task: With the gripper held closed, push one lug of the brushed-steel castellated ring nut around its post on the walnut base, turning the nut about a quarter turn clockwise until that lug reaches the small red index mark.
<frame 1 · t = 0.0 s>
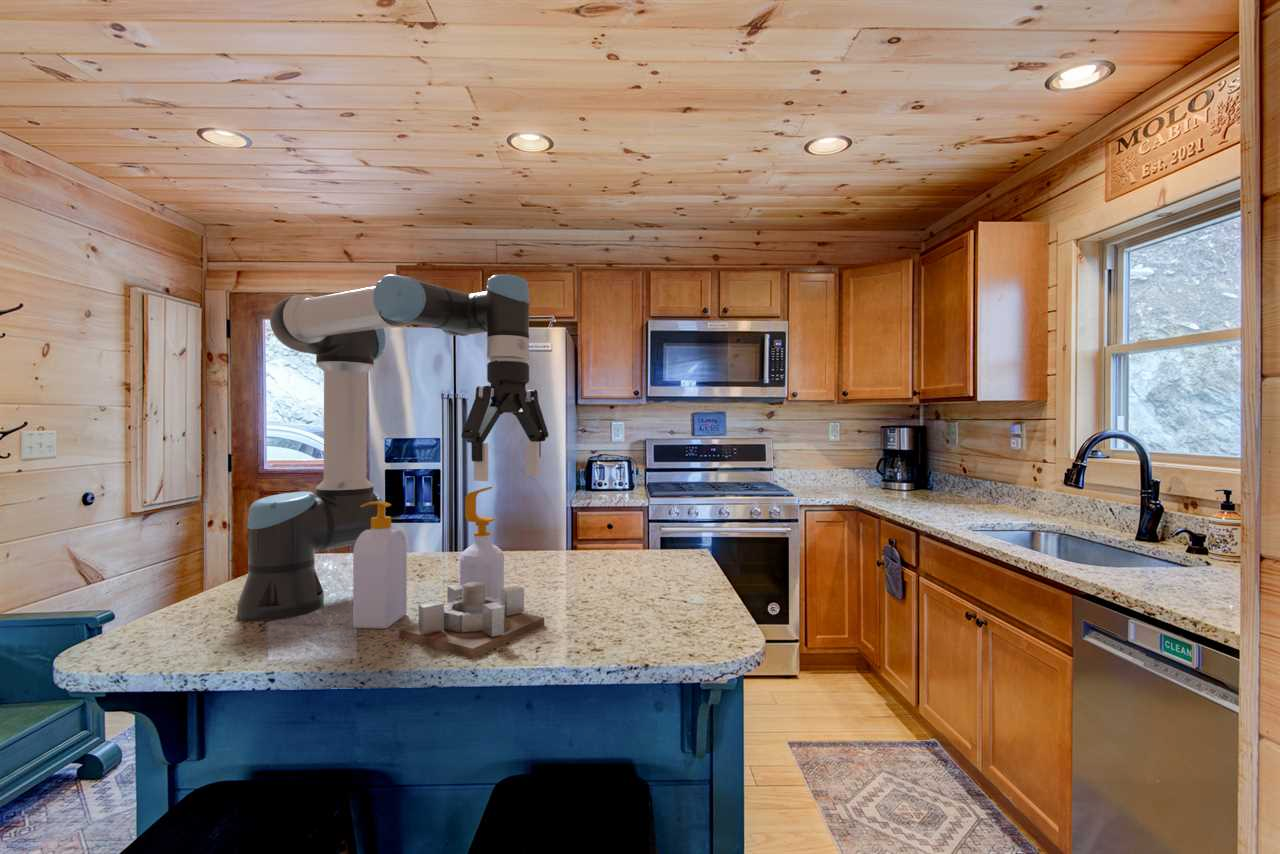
hand: (508, 478, 107), 28 cm above the countertop, fingers open, 13 cm apart
soap bottle: (482, 603, 125), on the countertop
ring nut: (473, 608, 106), point 4 cm above the countertop, hinge at 0.0°
soap bottle 2: (379, 622, 112), on the countertop
hub: (473, 631, 106), on the countertop
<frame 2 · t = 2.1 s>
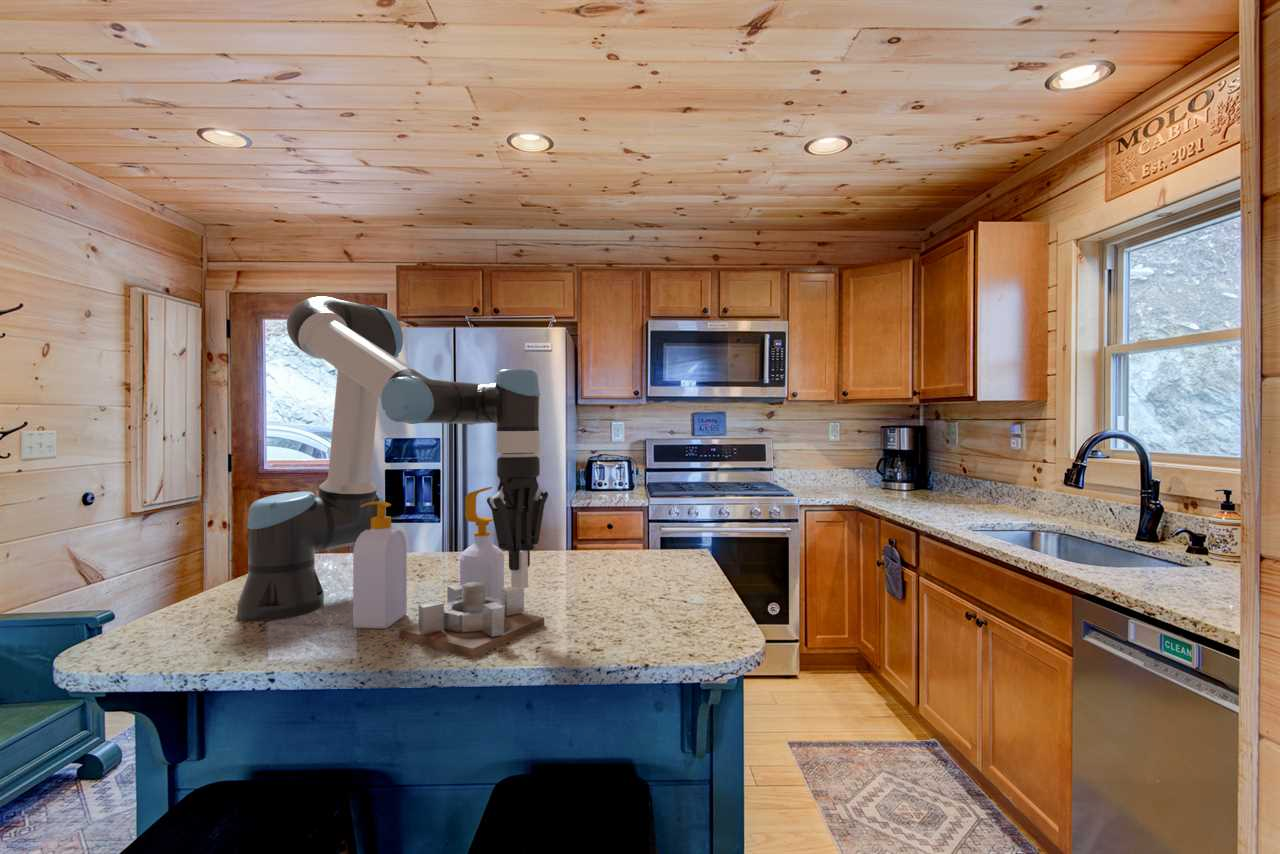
hand: (519, 586, 105), 9 cm above the countertop, fingers closed
nothing on the countertop moved.
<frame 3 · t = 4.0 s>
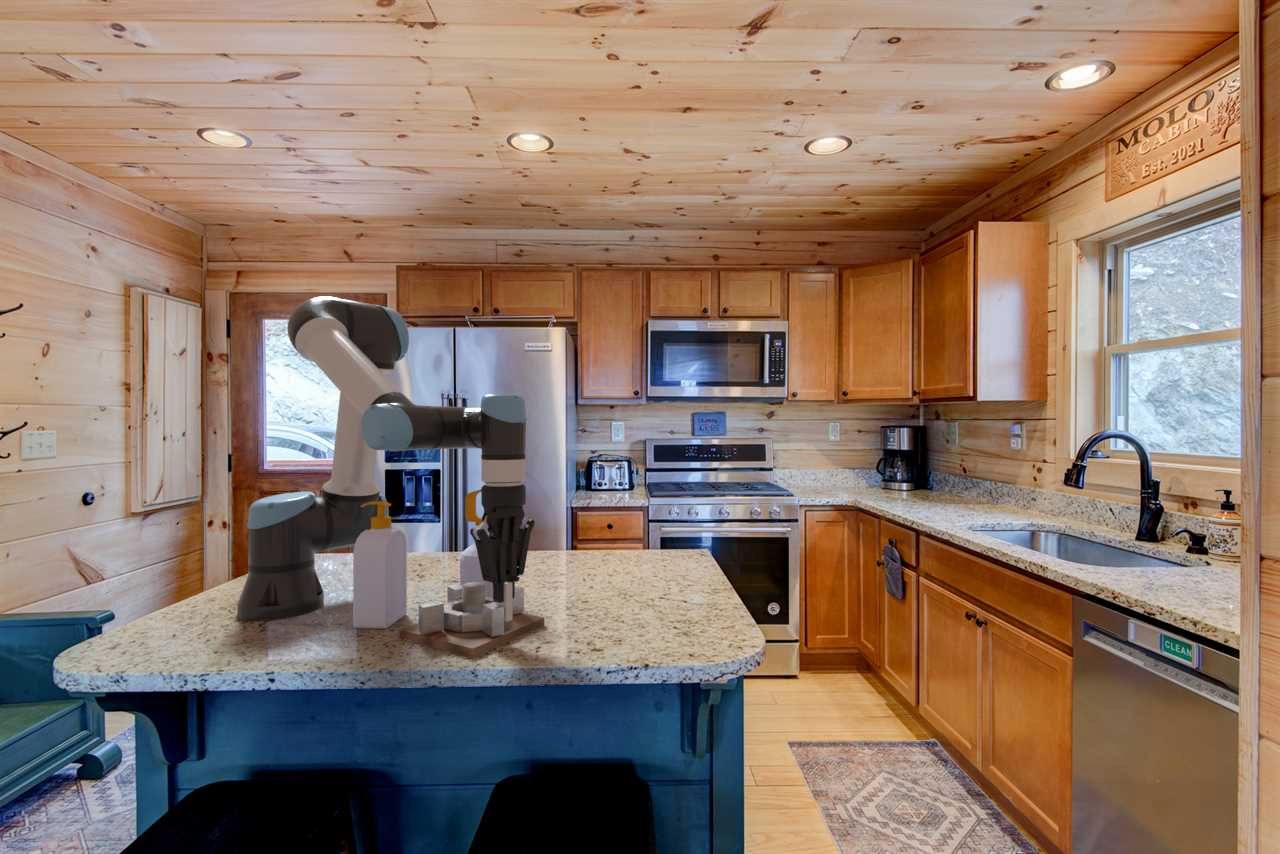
hand: (503, 619, 101), 4 cm above the countertop, fingers closed
ring nut: (473, 608, 106), point 4 cm above the countertop, hinge at 0.0°, touching gripper
everything else where it was.
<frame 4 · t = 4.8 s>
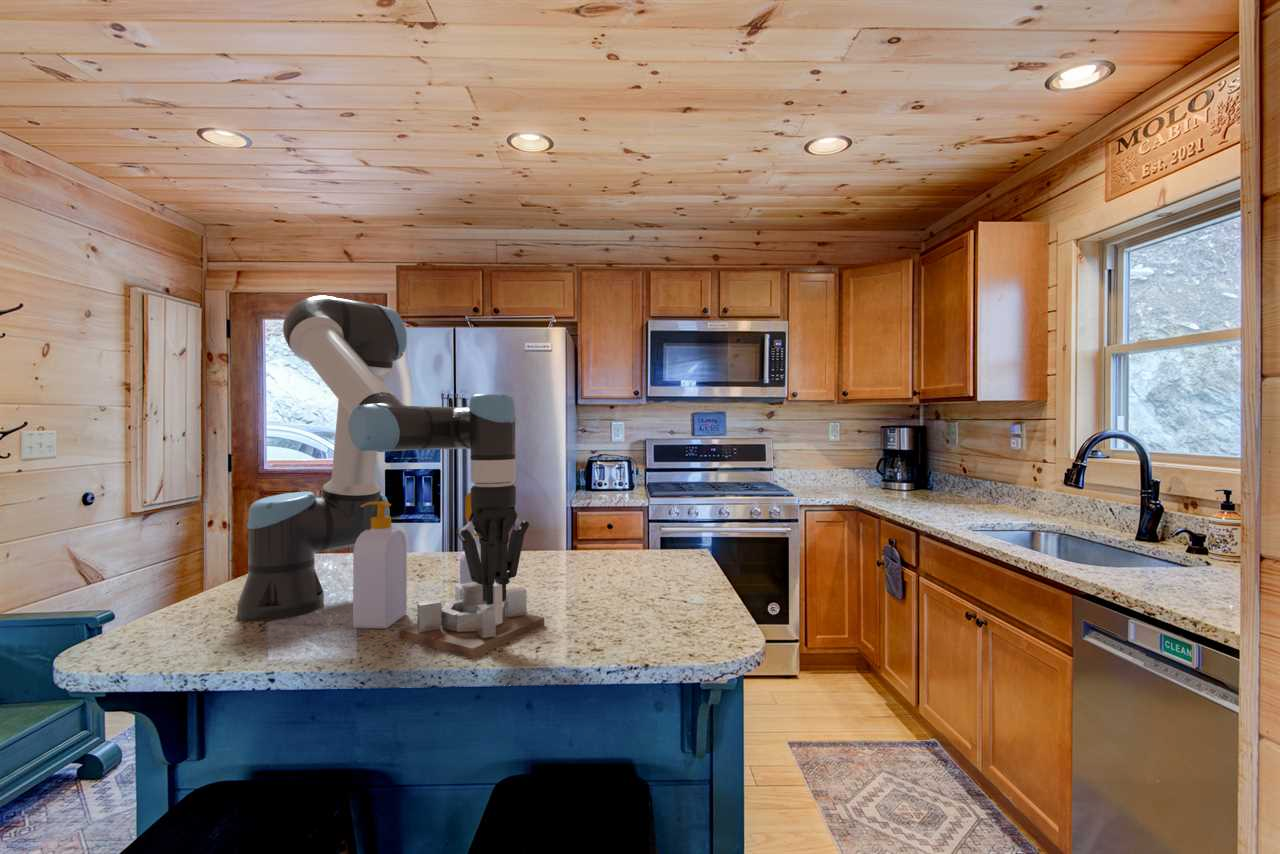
hand: (494, 621, 100), 4 cm above the countertop, fingers closed
ring nut: (473, 608, 106), point 4 cm above the countertop, hinge at -9.4°, touching gripper
everything else where it was.
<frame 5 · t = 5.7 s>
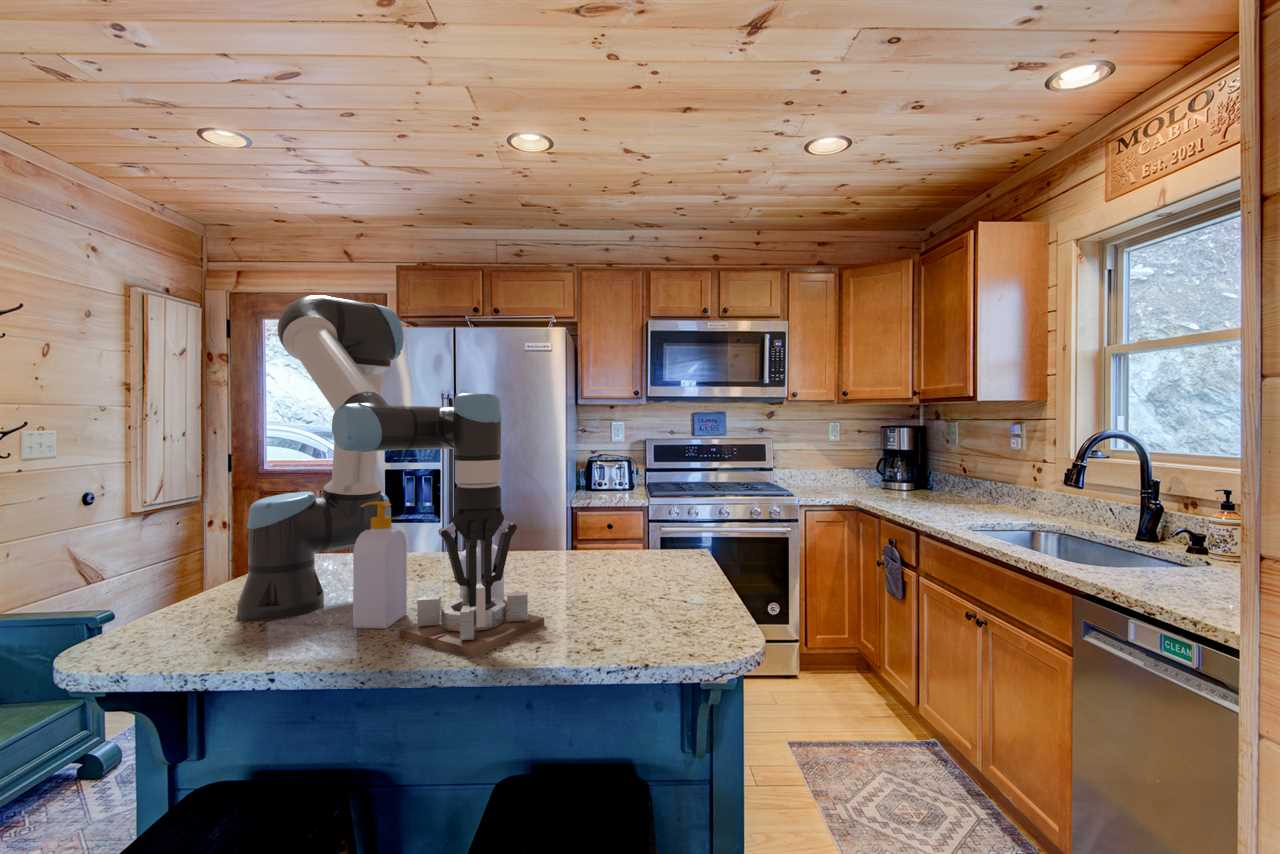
hand: (479, 624, 99), 4 cm above the countertop, fingers closed
ring nut: (473, 608, 106), point 4 cm above the countertop, hinge at -30.9°, touching gripper
everything else where it was.
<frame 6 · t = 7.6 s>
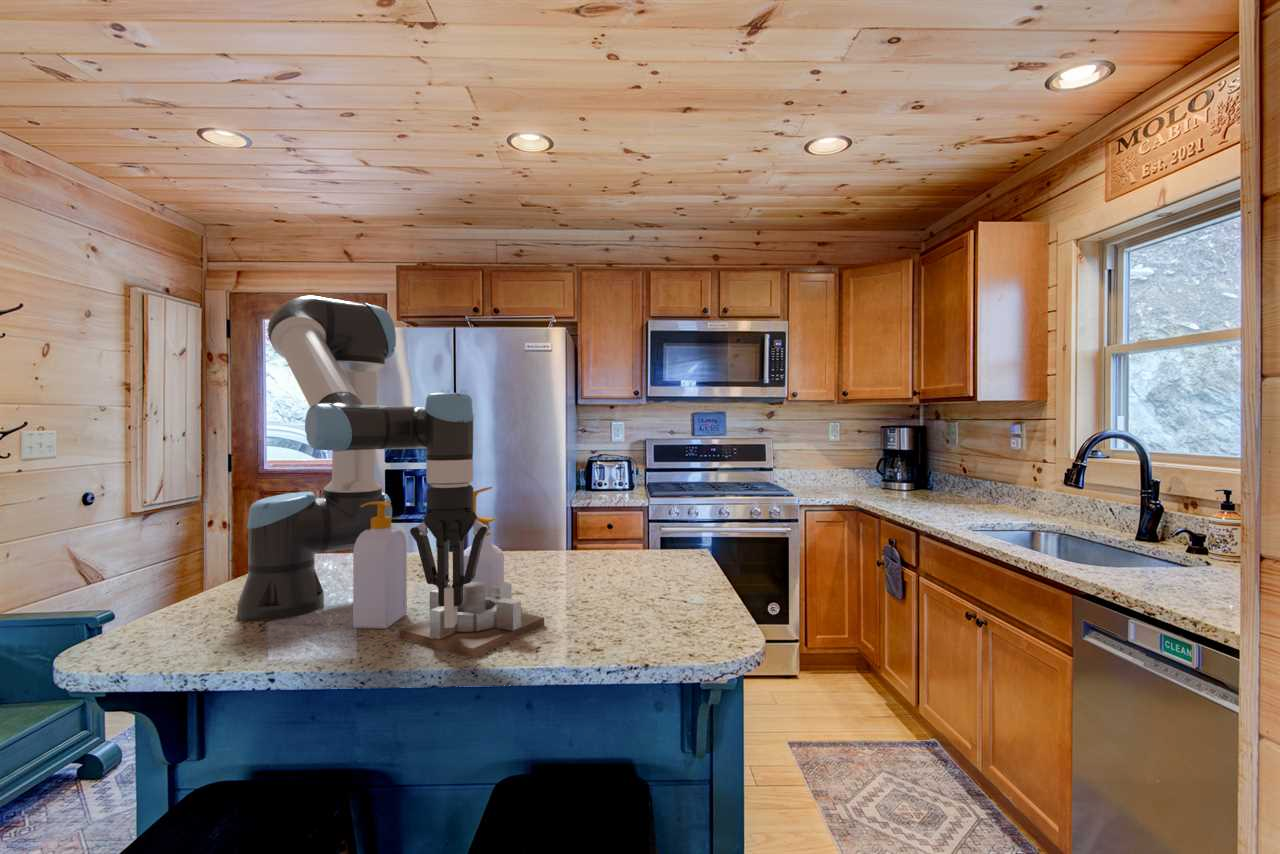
hand: (451, 624, 98), 4 cm above the countertop, fingers closed
ring nut: (473, 608, 106), point 4 cm above the countertop, hinge at -64.9°, touching gripper
everything else where it was.
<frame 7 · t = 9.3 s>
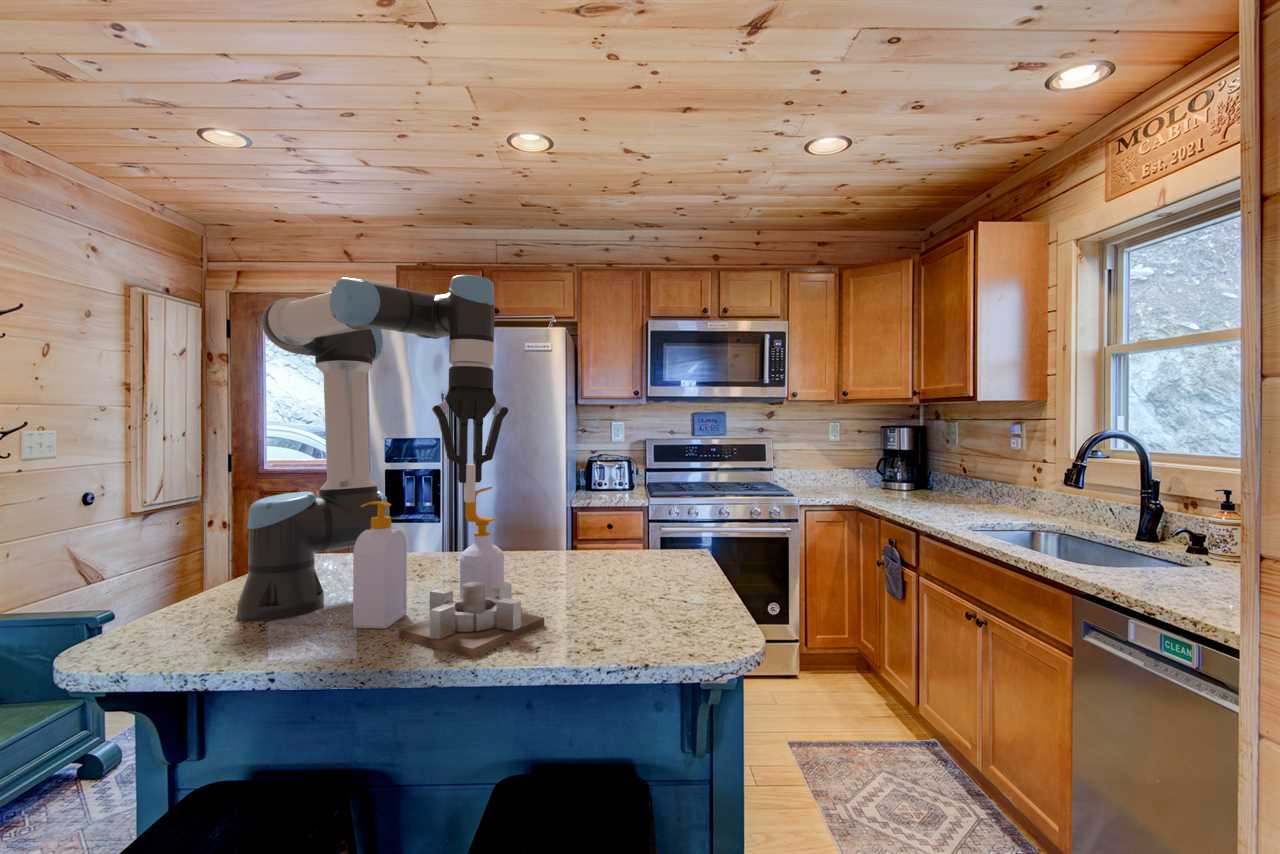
hand: (469, 501, 102), 24 cm above the countertop, fingers closed
ring nut: (473, 608, 106), point 4 cm above the countertop, hinge at -65.0°
everything else where it was.
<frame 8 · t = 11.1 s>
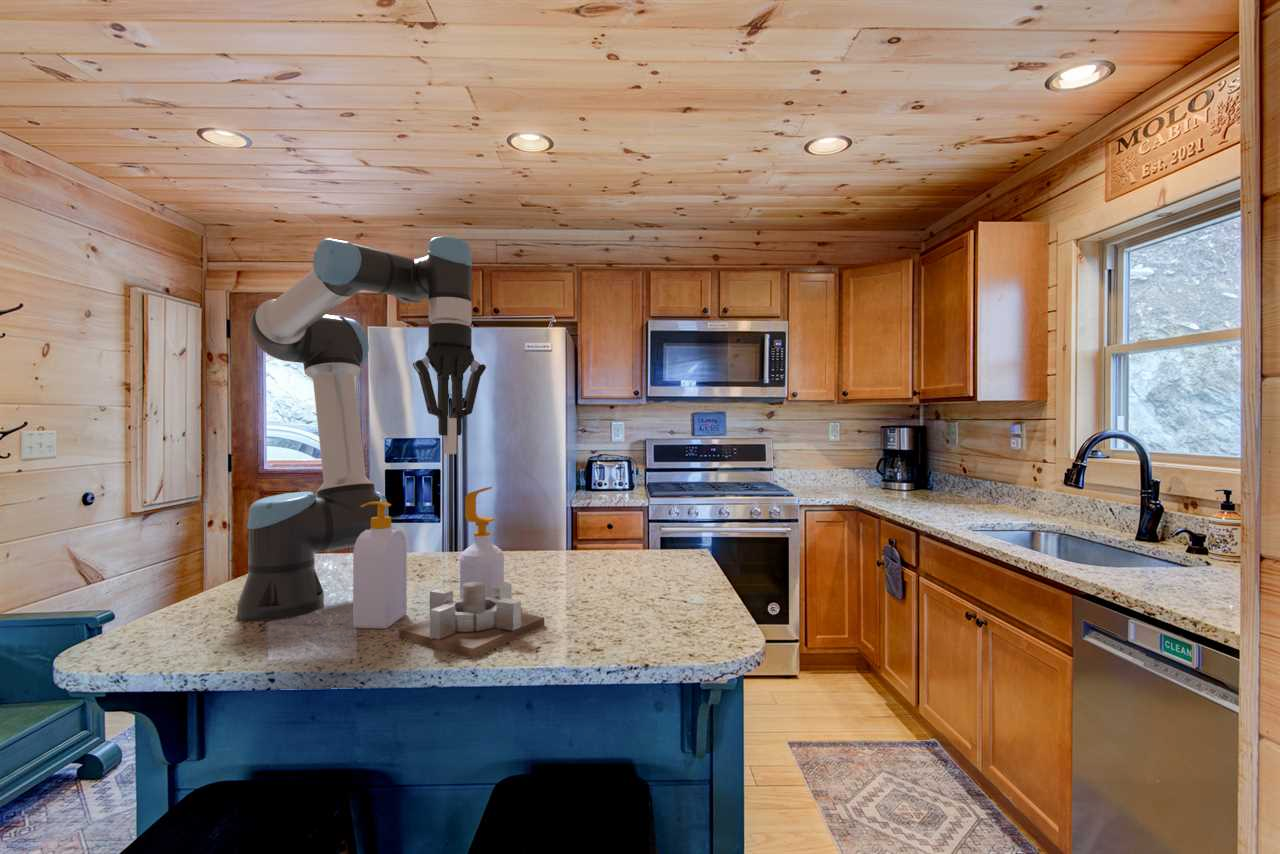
hand: (450, 453, 107), 32 cm above the countertop, fingers closed
nothing on the countertop moved.
at the end: ring nut at -65° (first picture: +0°) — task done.
